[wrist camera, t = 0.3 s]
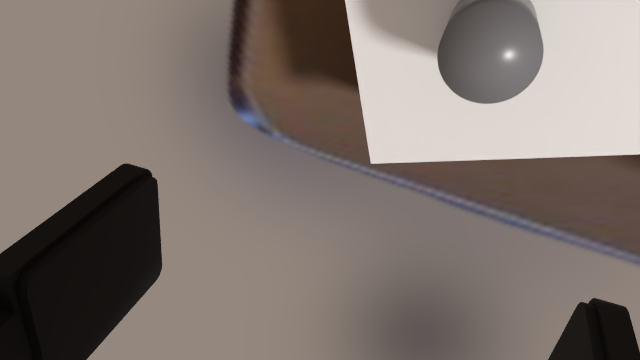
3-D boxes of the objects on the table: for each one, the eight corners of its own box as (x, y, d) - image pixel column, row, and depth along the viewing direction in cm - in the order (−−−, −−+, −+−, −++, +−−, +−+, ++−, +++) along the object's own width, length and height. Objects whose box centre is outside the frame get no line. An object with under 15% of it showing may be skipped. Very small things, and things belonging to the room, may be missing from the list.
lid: (673, -180, 22) (723, -199, 17) (642, 146, 28) (671, 202, 23) (334, -103, 27) (294, -100, 22) (374, 156, 33) (351, 204, 29)
